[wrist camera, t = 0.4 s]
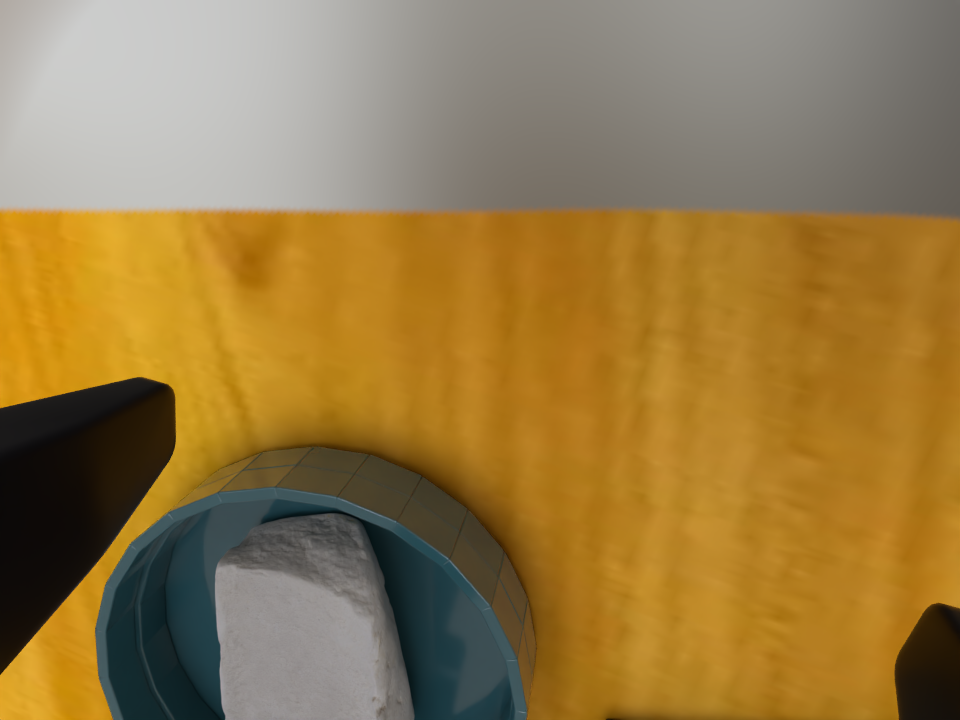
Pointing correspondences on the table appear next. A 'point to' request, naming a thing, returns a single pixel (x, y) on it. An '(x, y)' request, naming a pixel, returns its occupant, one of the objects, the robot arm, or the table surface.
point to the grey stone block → (308, 625)
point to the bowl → (402, 559)
